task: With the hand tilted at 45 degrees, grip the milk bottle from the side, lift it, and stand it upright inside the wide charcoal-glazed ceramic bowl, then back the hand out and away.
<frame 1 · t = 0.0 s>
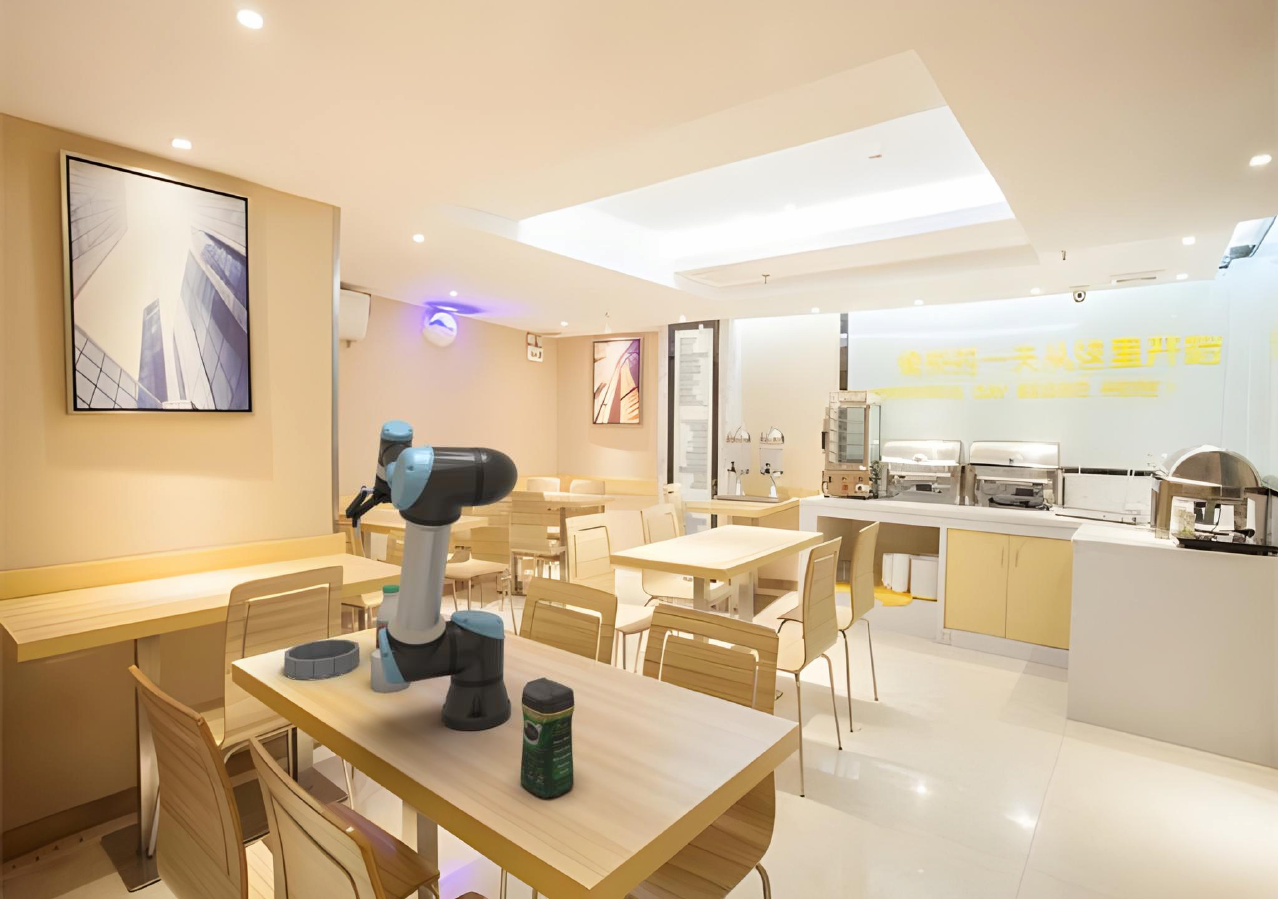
hand: (383, 533, 179), 36 cm above the table, tool tilted 35°, fingers open, 13 cm apart
coffee jar: (546, 786, 116), on the table
milk bottle: (390, 655, 185), on the table
toilet tissue: (391, 684, 163), on the table
bowl: (322, 668, 173), on the table
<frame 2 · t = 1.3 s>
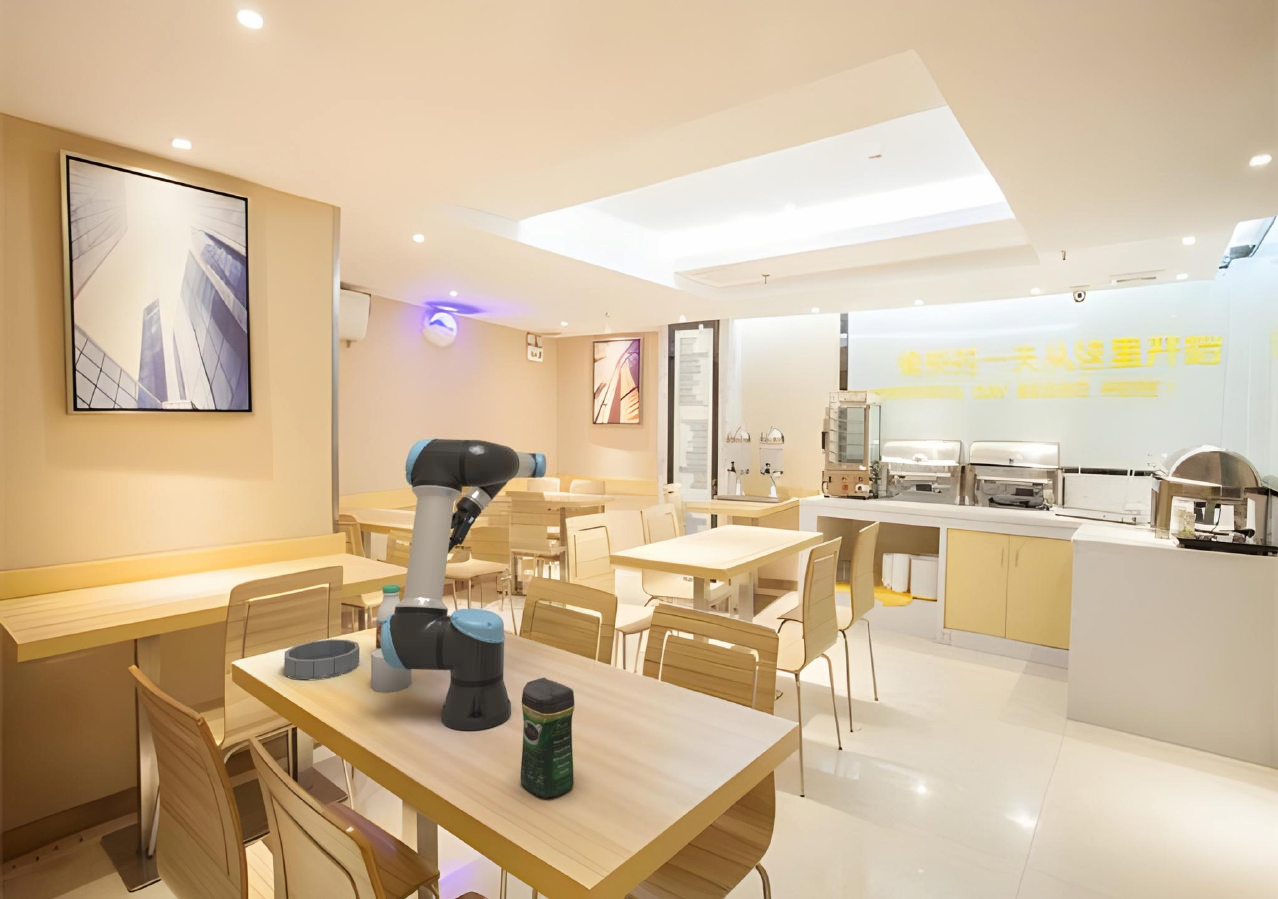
hand: (426, 556, 191), 27 cm above the table, tool tilted 45°, fingers open, 13 cm apart
nothing on the table moved.
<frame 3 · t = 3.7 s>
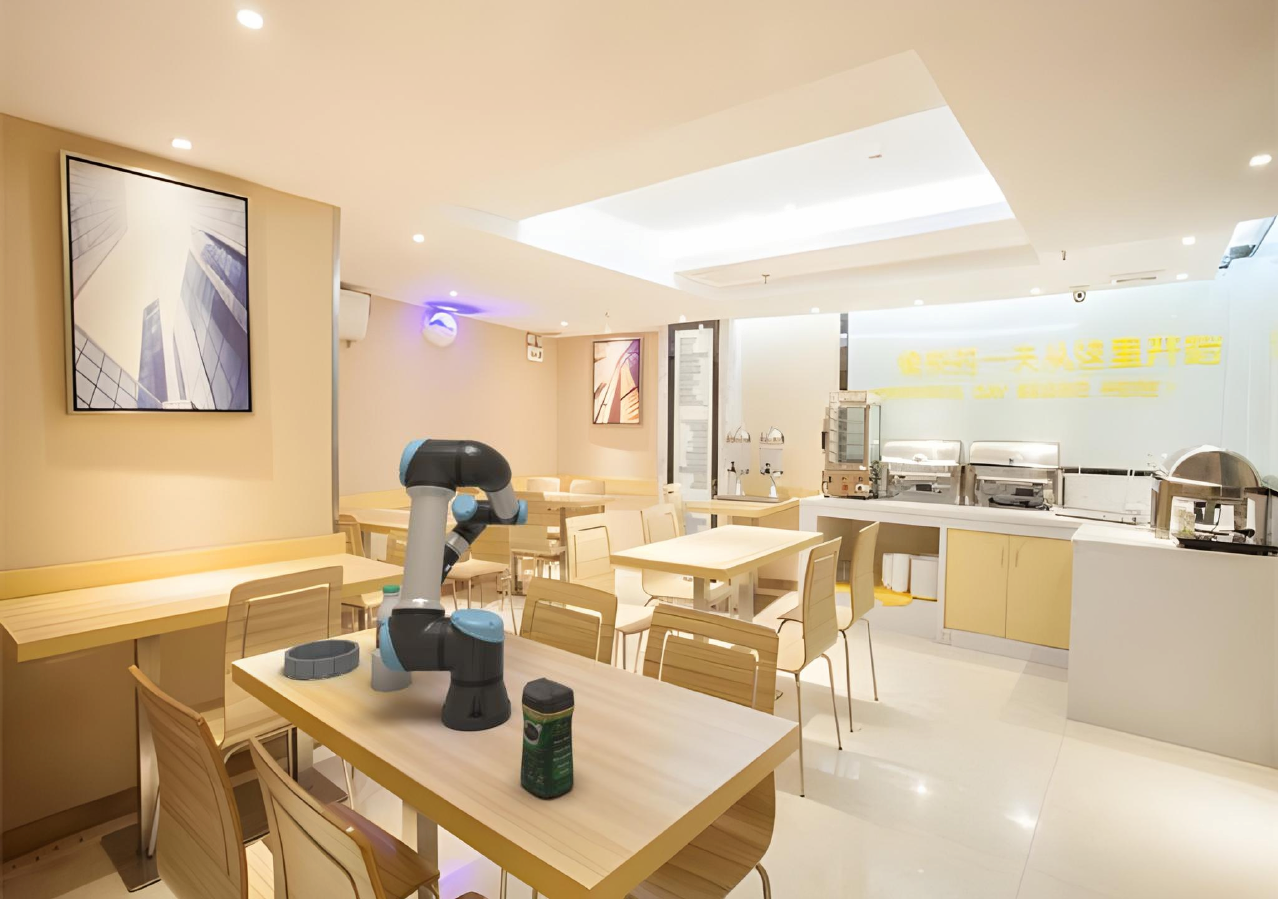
hand: (401, 606, 187), 13 cm above the table, tool tilted 45°, fingers open, 13 cm apart
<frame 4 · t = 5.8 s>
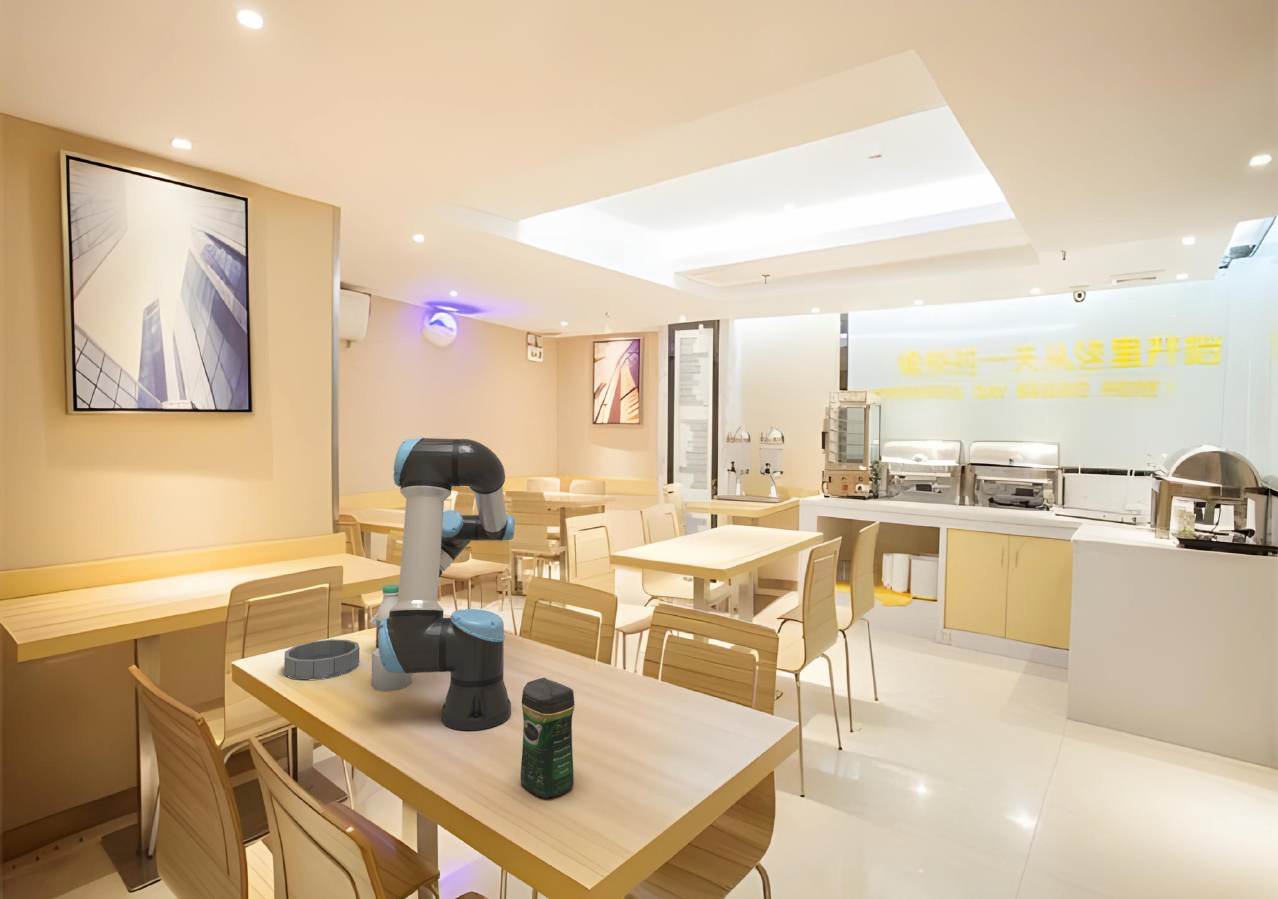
hand: (378, 627, 182), 9 cm above the table, tool tilted 45°, fingers closed on milk bottle, 7 cm apart
milk bottle: (390, 655, 185), on the table, touching gripper
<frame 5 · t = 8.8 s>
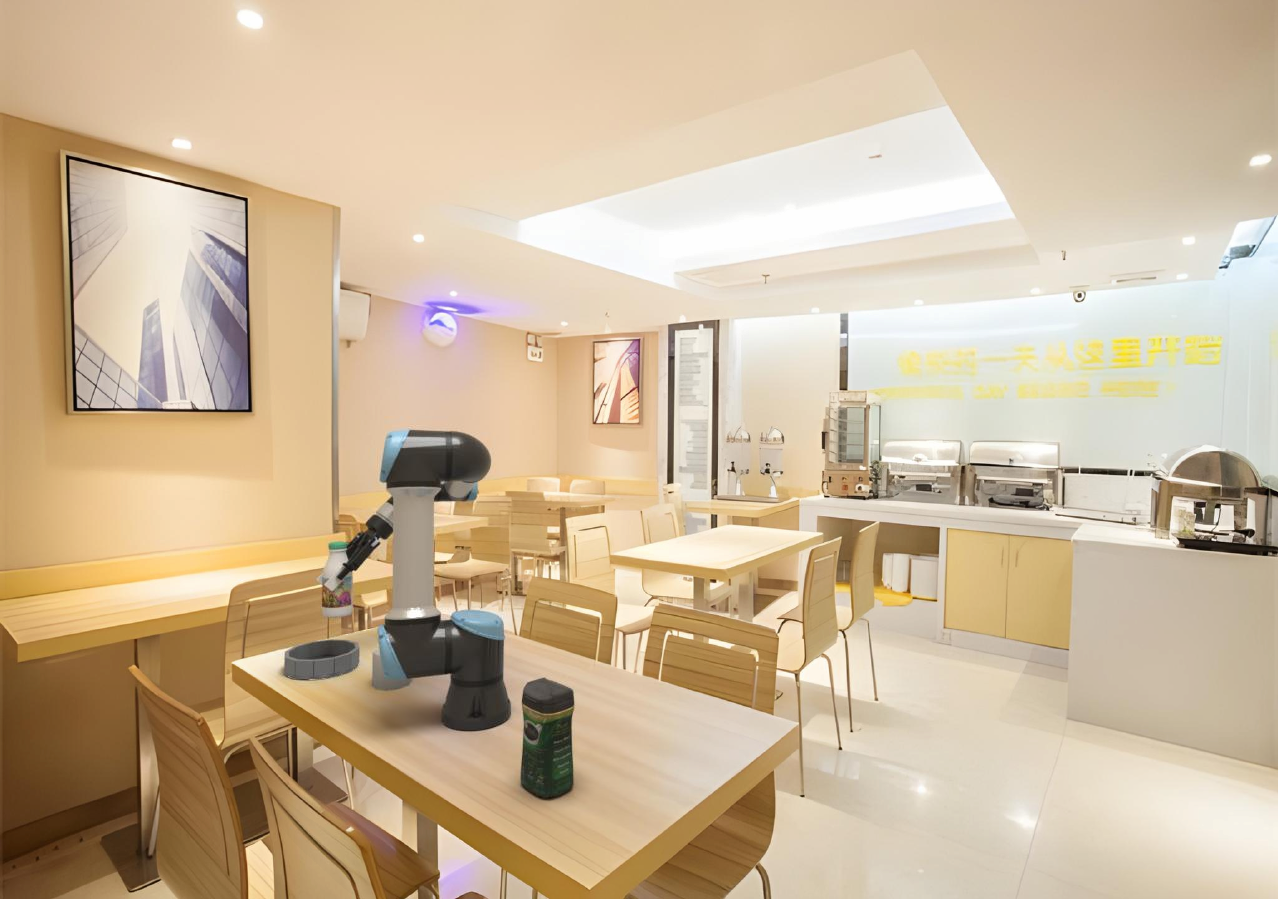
hand: (324, 585, 174), 22 cm above the table, tool tilted 45°, fingers closed on milk bottle, 7 cm apart
milk bottle: (337, 615, 176), point 13 cm above the table, touching gripper
when the fingers open (11 cm above the table, at t = 11.7 s): milk bottle drops 1 cm, resting on bowl.
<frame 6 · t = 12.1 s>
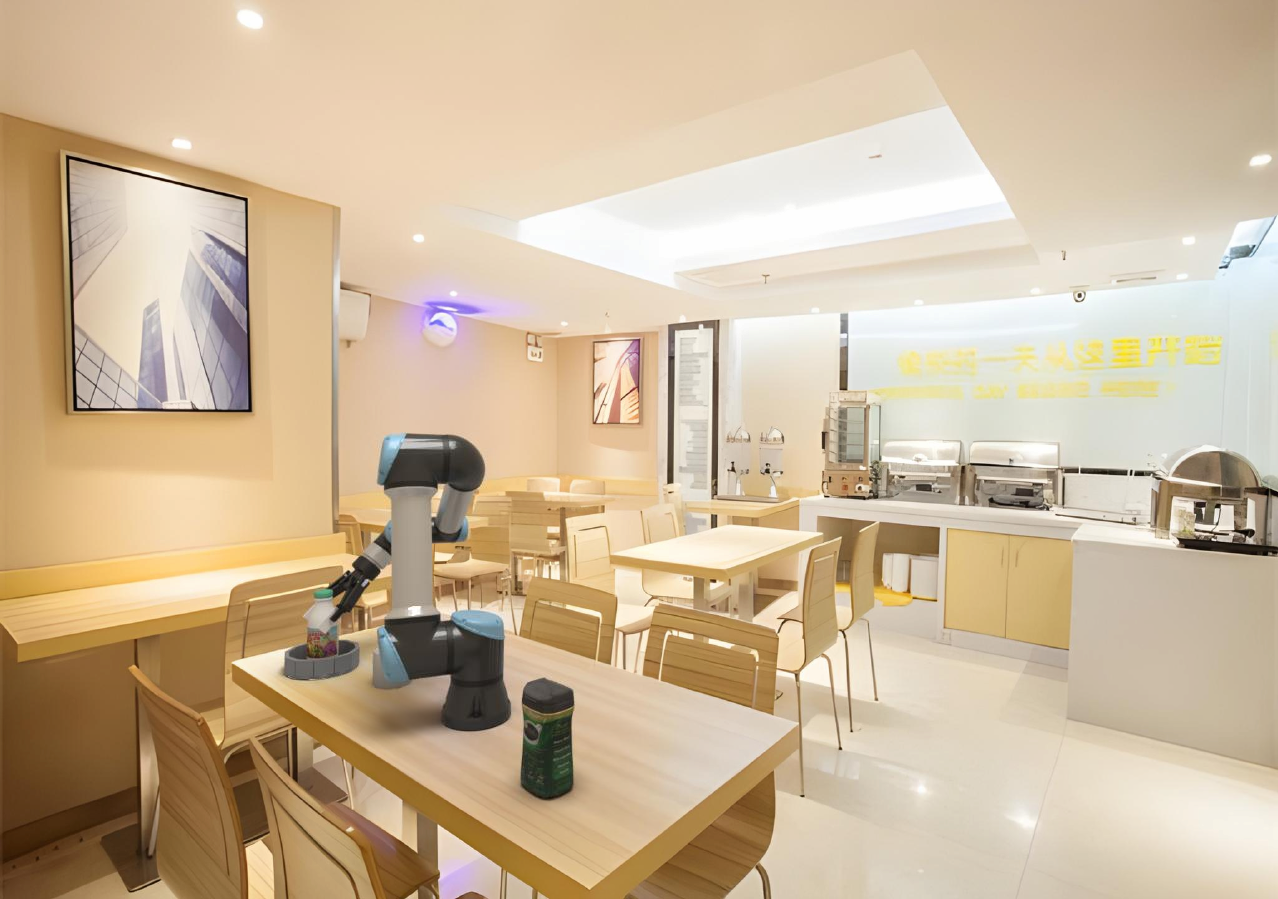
hand: (313, 625, 171), 12 cm above the table, tool tilted 45°, fingers open, 13 cm apart
milk bottle: (322, 665, 173), point 1 cm above the table, touching bowl
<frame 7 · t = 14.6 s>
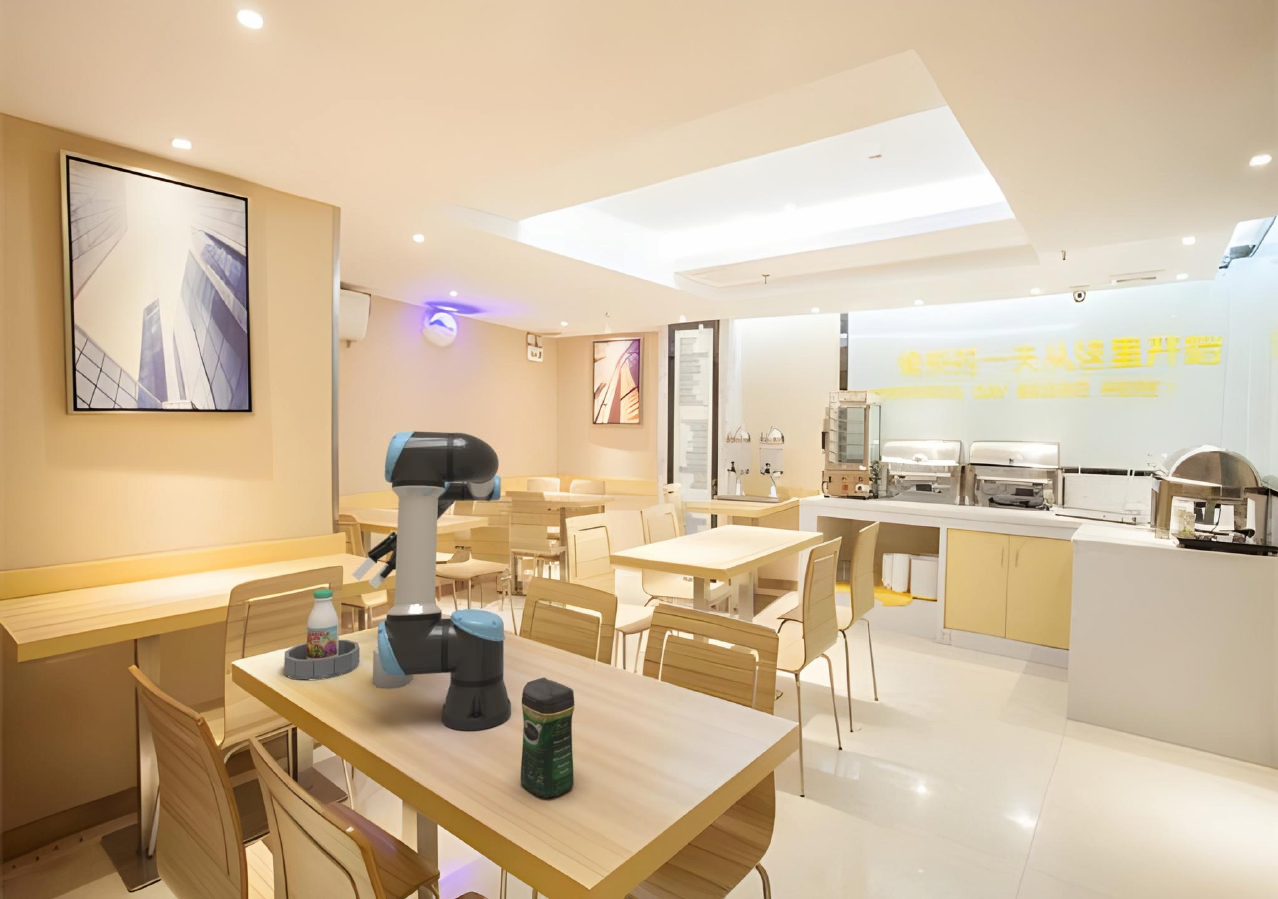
hand: (363, 581, 180), 22 cm above the table, tool tilted 45°, fingers open, 13 cm apart
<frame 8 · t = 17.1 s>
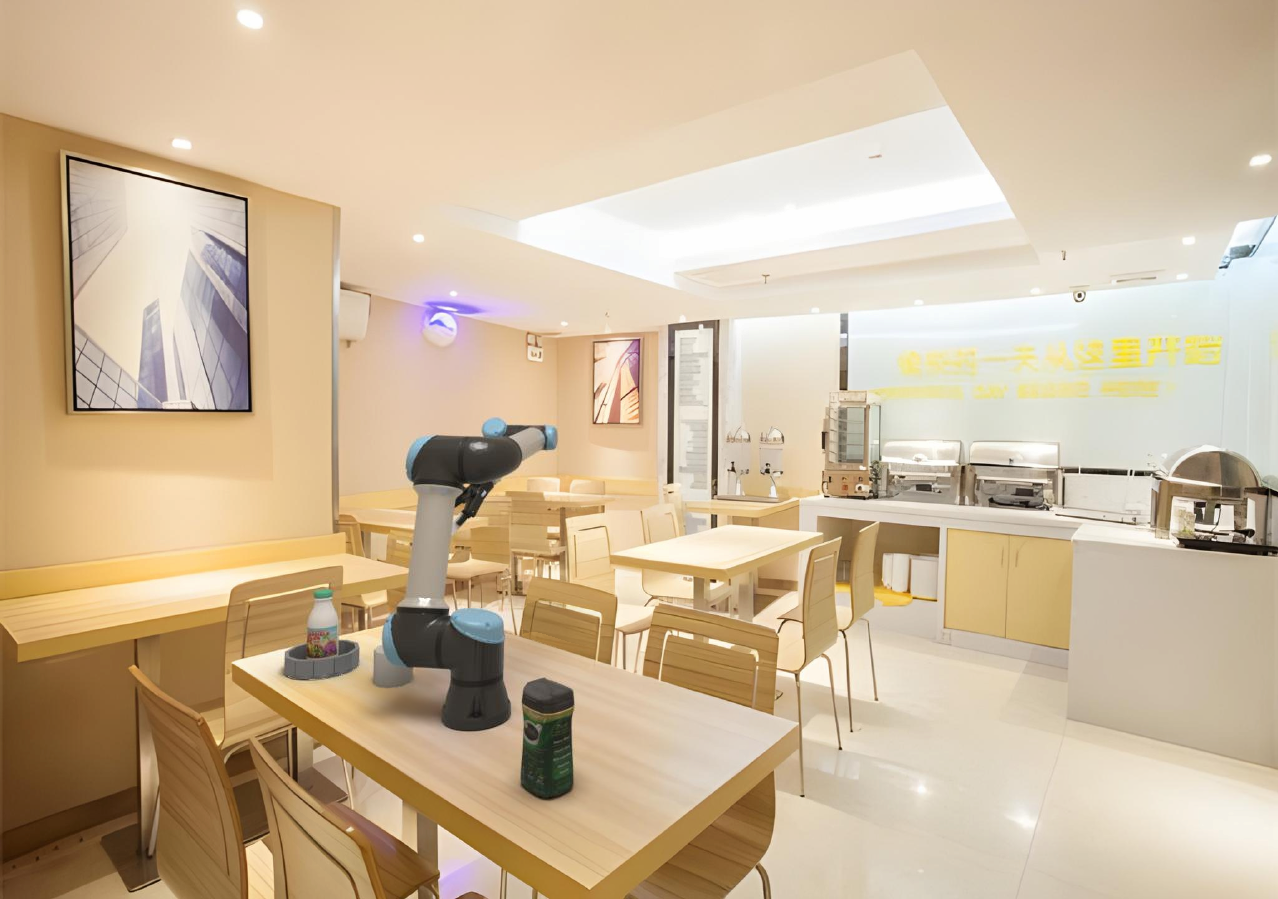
hand: (438, 530, 188), 36 cm above the table, tool tilted 45°, fingers open, 13 cm apart
at the end: milk bottle inside the target area on the bowl (0.1 cm from its centre), point 0.8 cm above the bowl's base; milk bottle tilted 0°; the gripper is holding nothing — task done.
